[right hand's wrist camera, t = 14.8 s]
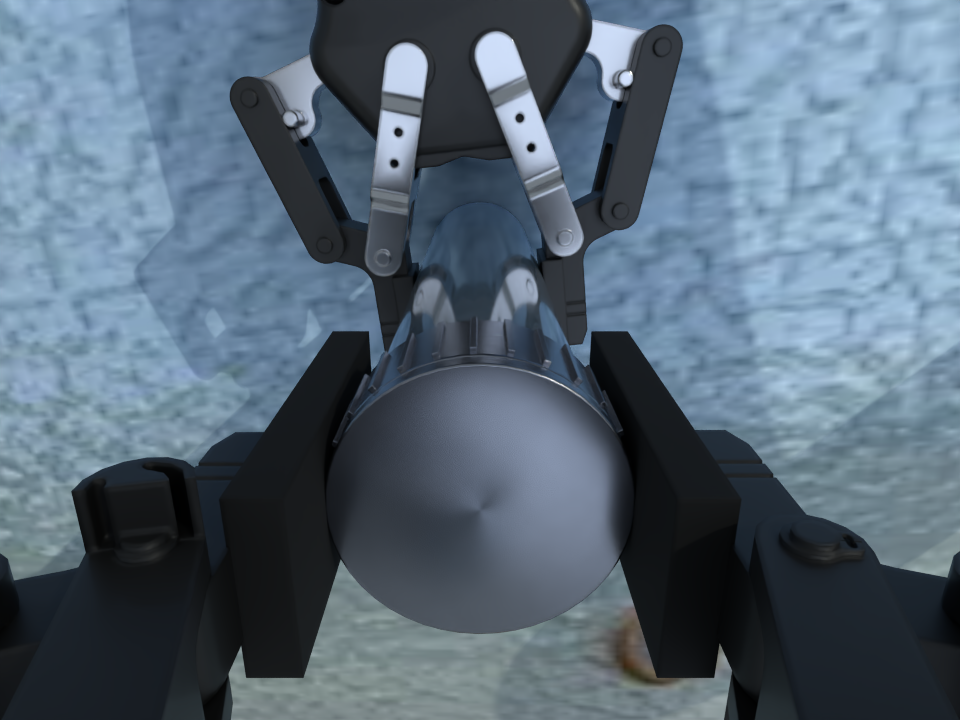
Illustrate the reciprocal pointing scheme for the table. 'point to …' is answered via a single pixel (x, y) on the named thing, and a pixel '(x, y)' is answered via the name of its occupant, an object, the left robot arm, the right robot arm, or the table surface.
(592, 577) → the lid
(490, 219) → the slate blue rod
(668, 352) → the table surface
